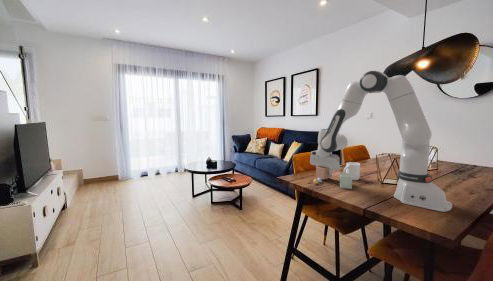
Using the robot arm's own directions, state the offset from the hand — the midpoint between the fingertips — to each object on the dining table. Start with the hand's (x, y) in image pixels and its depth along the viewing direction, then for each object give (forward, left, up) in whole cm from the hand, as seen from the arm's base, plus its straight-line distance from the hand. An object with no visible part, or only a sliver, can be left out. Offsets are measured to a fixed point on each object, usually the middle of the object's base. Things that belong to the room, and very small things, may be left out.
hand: (323, 173), depth 144 cm
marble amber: (-2, +12, -4) cm, 13 cm away
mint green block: (-16, +2, -4) cm, 17 cm away
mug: (-11, -14, -4) cm, 18 cm away
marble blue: (-2, +8, -4) cm, 9 cm away
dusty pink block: (0, 0, -3) cm, 3 cm away
